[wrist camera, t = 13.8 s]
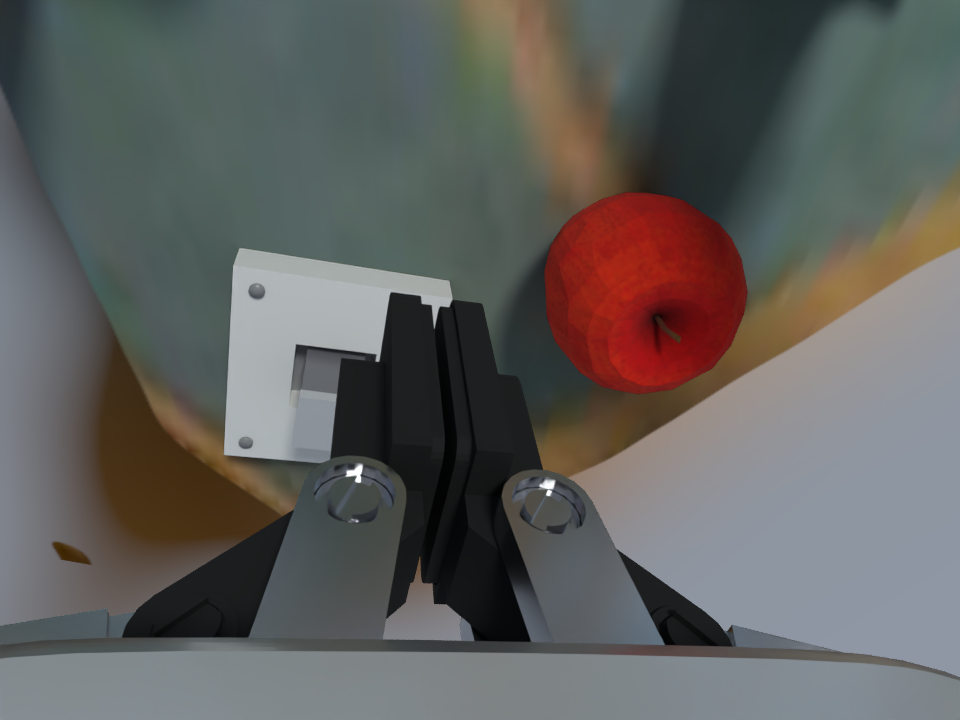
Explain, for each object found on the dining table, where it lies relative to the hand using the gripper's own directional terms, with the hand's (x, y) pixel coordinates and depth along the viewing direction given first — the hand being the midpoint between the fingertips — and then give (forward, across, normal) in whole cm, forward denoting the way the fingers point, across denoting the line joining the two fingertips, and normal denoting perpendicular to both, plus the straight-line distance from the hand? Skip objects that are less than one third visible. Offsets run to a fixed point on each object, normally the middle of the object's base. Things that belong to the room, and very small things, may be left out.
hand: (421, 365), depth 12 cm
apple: (+32, -16, +10) cm, 37 cm away
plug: (+31, +2, +23) cm, 38 cm away
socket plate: (+31, +2, +23) cm, 38 cm away
